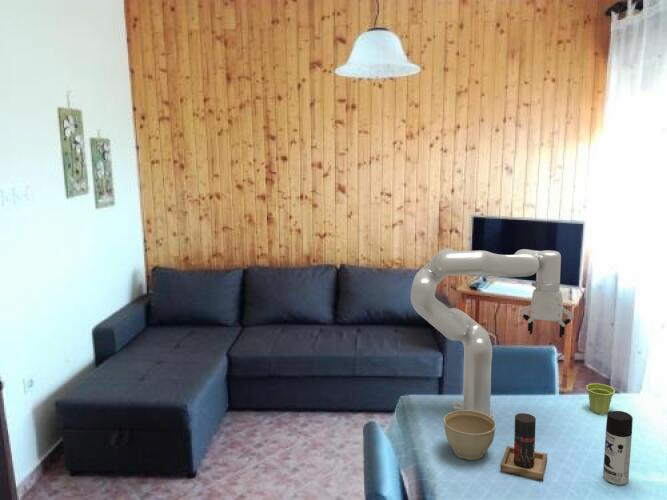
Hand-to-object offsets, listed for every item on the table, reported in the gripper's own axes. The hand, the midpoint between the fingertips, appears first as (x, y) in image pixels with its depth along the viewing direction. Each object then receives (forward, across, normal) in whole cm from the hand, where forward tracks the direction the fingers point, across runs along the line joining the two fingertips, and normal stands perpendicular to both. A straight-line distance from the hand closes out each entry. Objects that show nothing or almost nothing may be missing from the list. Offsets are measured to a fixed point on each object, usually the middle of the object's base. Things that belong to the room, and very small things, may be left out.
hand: (545, 334), depth 188 cm
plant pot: (+32, +18, +17) cm, 41 cm away
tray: (+32, -2, -32) cm, 46 cm away
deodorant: (+32, -2, -32) cm, 45 cm away
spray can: (+32, +23, -28) cm, 49 cm away
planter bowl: (+32, -19, -31) cm, 49 cm away
